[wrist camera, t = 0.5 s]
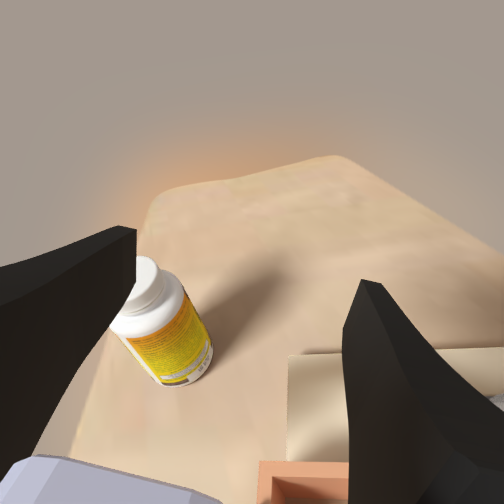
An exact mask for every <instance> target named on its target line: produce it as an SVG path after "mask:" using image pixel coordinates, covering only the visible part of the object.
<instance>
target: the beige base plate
mask: <svg viewBox="0 0 504 504" xmlns="http://www.w3.org/2000/svg"><path fill="white" fill-rule="evenodd" d="M435 351H436V352H437V353H438V354H439V355H440V356H441V357H442V358H443V359H444V360H445V361H446V362H447V363H448V364H449V365H450V366H451V367H452V368H453V369H454V370H455V371H456V372H458V373H459V374H460V375H461V376H462V377H463V378H464V379H465V380H466V381H467V382H468V383H470V384H471V385H472V386H473V387H474V388H475V389H476V390H478V391H479V392H480V393H481V394H483V395H484V396H493V397H494V396H495V395H498V394H503V393H504V347H488V348H462V349H437V350H435ZM286 461H295V462H348V463H349V429H348V416H347V406H346V396H345V386H344V376H343V366H342V353H336V354H311V355H288V397H287V442H286ZM285 504H348V500H339V499H313V498H287V497H285Z"/></svg>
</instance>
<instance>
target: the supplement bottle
mask: <svg viewBox="0 0 504 504" xmlns="http://www.w3.org/2000/svg"><path fill="white" fill-rule="evenodd" d="M109 327H110V329H111V330H112V331H113V333H114V334H115V335H116V336H117V337H118V339H119V340H120V341H121V342H122V343H123V344H124V346H125V347H126V348H127V349H128V350H129V352H130V353H131V354H132V355H133V357H134V358H135V359H136V360H137V361H138V362H139V364H140V365H141V366H142V367H143V368H144V369H145V371H146V372H147V373H148V374H149V375H150V377H151V378H152V379H153V380H154V381H155V382H157V383H158V384H160V385H162V386H165V387H171V388H174V387H182V386H185V385H188V384H190V383H192V382H194V381H195V380H197V379H198V378H199V377H200V376H201V375H202V374H203V373H204V372H205V371H206V369H207V368H208V366H209V364H210V362H211V359H212V355H213V343H212V340H211V338H210V336H209V333H208V332H207V330H206V328H205V326H204V324H203V322H202V321H201V319H200V317H199V315H198V313H197V311H196V310H195V308H194V306H193V304H192V302H191V301H190V299H189V297H188V295H187V293H186V291H185V290H184V287H183V286H182V284H181V282H180V281H179V279H178V278H177V277H176V276H175V275H174V274H172V273H170V272H168V271H165V270H161V269H159V267H158V265H157V264H156V262H155V261H154V260H153V259H151V258H149V257H146V256H136V283H135V285H134V287H133V289H132V291H131V293H130V295H129V297H128V299H127V300H126V302H125V304H124V306H123V307H122V309H121V310H120V312H119V313H118V314H117V316H116V317H115V319H114V320H113V321H112V323H111V324H110V326H109Z"/></svg>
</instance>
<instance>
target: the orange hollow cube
mask: <svg viewBox="0 0 504 504" xmlns="http://www.w3.org/2000/svg"><path fill="white" fill-rule="evenodd" d="M348 477H349V463H348V462H295V461H259V475H258V490H257V504H285V497H287V498H313V499H339V500H348Z"/></svg>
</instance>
